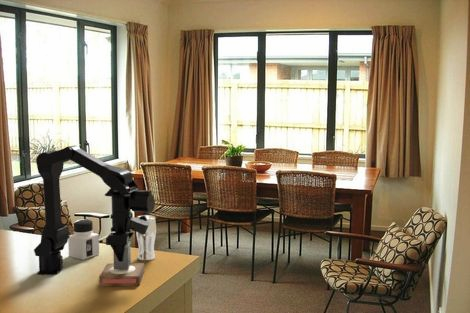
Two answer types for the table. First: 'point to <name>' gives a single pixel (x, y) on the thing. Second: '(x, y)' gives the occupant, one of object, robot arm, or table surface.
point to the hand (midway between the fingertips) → (122, 258)
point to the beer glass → (147, 240)
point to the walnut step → (122, 275)
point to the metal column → (126, 259)
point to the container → (83, 240)
